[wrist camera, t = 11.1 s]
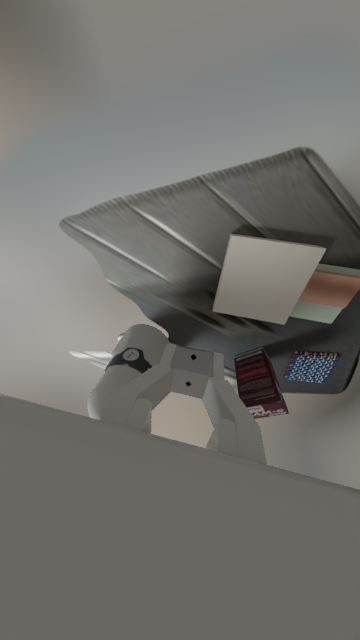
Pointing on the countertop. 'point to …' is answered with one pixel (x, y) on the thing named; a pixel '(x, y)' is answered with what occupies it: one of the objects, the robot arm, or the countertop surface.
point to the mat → (320, 310)
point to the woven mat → (310, 366)
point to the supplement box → (259, 384)
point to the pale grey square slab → (264, 277)
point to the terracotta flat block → (331, 288)
